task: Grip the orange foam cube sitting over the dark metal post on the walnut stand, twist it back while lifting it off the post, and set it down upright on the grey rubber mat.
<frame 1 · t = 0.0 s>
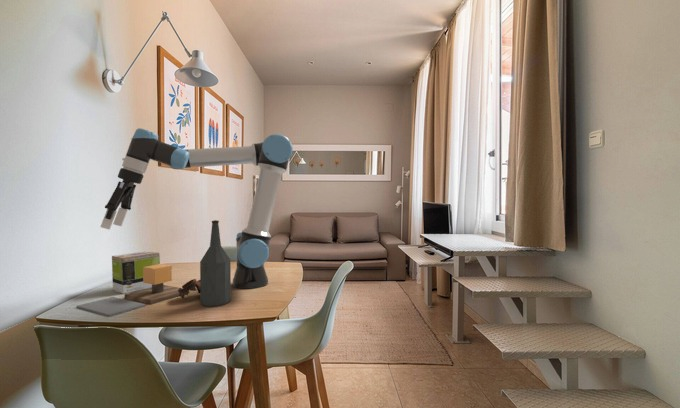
hand: (111, 226, 121), 28 cm above the table, tool tilted 20°, fingers open, 13 cm apart
brown animal figurine: (195, 298, 129), on the table
post stand: (157, 295, 132), on the table
bottle: (215, 303, 123), on the table
orange foam cube: (157, 281, 132), point 5 cm above the table, touching post stand
tea box: (136, 289, 143), on the table
mat: (111, 306, 118), on the table
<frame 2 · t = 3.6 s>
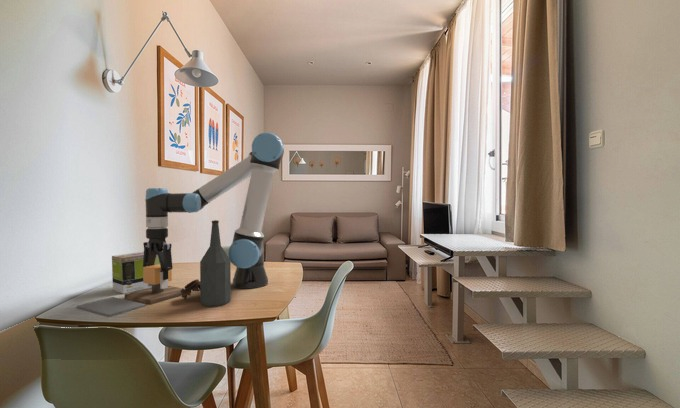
hand: (157, 286, 132), 4 cm above the table, tool pointing down, fingers closed on orange foam cube, 7 cm apart
brown animal figurine: (198, 298, 129), on the table
orange foam cube: (157, 281, 132), point 6 cm above the table, touching gripper, post stand
everything else where it was.
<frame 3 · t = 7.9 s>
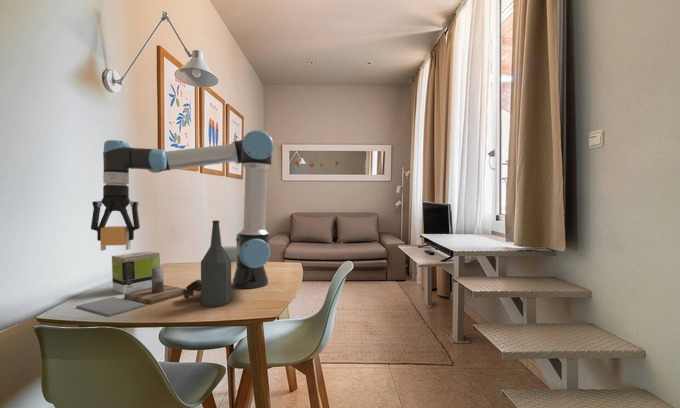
hand: (115, 249, 120), 20 cm above the table, tool pointing down, fingers closed on orange foam cube, 7 cm apart
brown animal figurine: (200, 299, 128), on the table, touching bottle
bottle: (216, 303, 123), on the table, touching brown animal figurine
orange foam cube: (115, 244, 120), point 22 cm above the table, touching gripper
everything else where it was.
when the fingers open (1 cm above the table, at t = 12.4 s): orange foam cube drops 2 cm, resting on mat.
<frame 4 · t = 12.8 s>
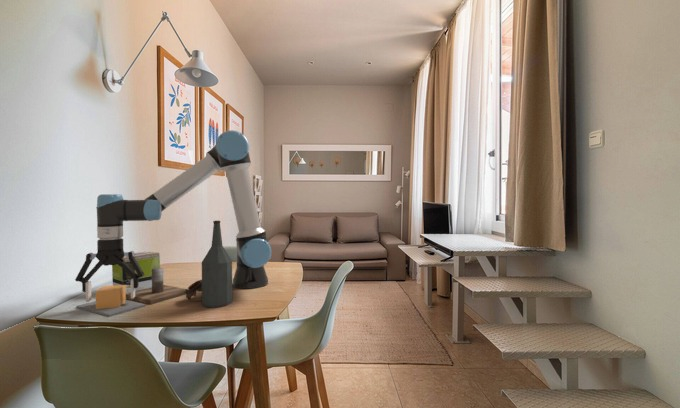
hand: (111, 299, 118), 3 cm above the table, tool pointing down, fingers open, 13 cm apart
brown animal figurine: (202, 299, 128), on the table
bottle: (217, 304, 122), on the table
orange foam cube: (111, 305, 118), point 1 cm above the table, touching mat
everything else where it was.
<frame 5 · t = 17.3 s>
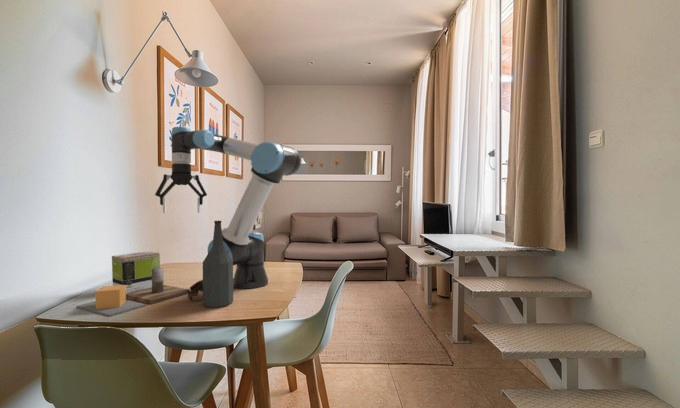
hand: (181, 212, 147), 32 cm above the table, tool pointing down, fingers open, 13 cm apart
at the end: orange foam cube inside the target area on the mat (0.0 cm from its centre), point 0.6 cm above the mat's base; orange foam cube tilted 0°; the gripper is holding nothing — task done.
